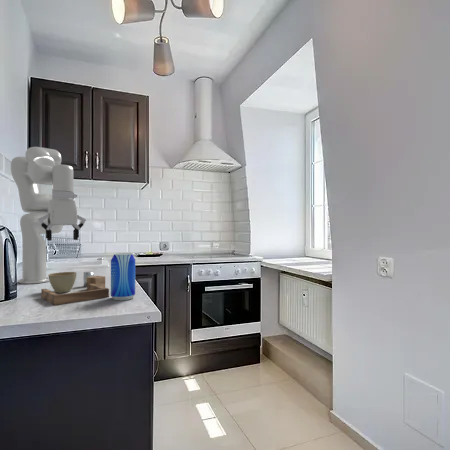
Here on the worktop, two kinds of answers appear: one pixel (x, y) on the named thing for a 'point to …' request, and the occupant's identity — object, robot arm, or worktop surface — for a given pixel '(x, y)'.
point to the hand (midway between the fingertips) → (62, 240)
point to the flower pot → (62, 281)
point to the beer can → (122, 276)
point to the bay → (75, 295)
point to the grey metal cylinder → (87, 274)
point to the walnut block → (96, 280)
